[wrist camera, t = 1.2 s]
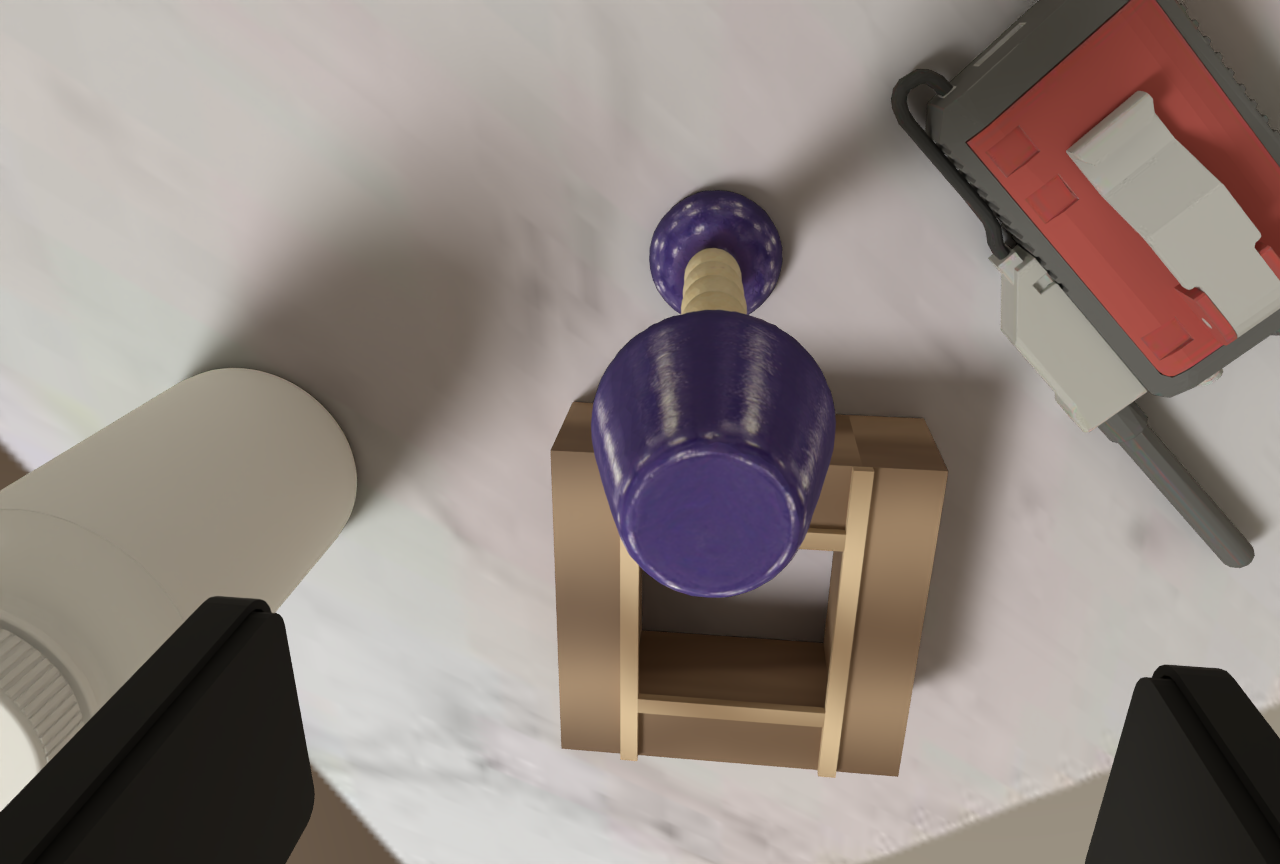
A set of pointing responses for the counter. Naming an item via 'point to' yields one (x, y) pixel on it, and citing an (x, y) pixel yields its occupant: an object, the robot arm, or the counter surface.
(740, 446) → the toy lamp
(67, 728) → the pill bottle
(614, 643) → the tan wooden square frame
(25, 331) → the counter surface
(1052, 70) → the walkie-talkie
